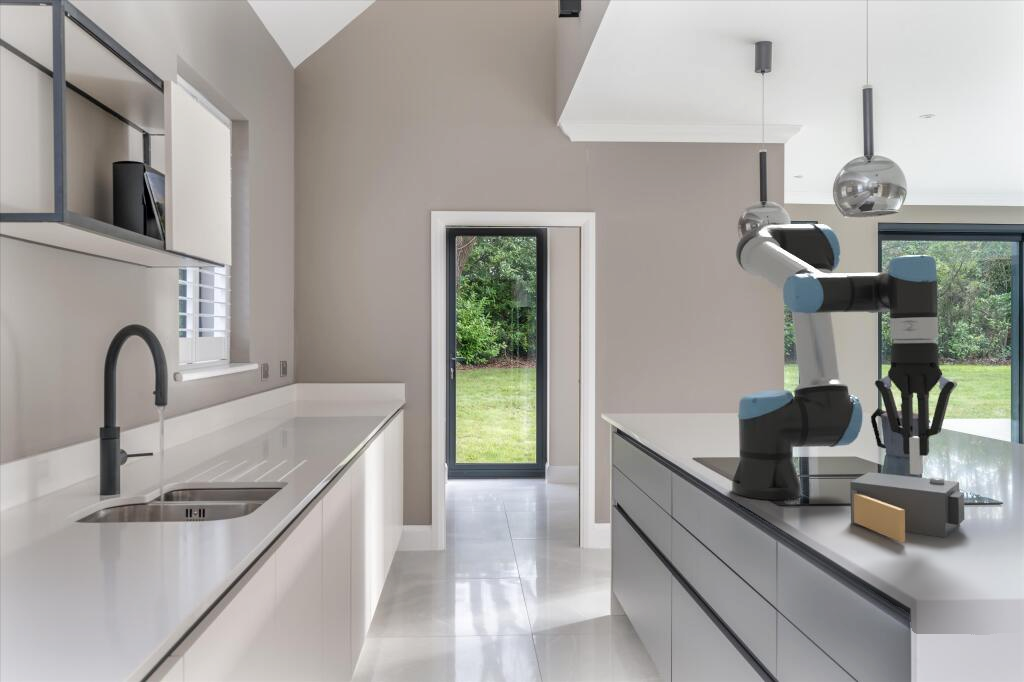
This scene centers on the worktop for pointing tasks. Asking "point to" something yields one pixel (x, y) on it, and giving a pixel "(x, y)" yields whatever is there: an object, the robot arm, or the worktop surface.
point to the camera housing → (917, 500)
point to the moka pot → (894, 445)
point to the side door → (878, 516)
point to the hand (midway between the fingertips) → (916, 473)
